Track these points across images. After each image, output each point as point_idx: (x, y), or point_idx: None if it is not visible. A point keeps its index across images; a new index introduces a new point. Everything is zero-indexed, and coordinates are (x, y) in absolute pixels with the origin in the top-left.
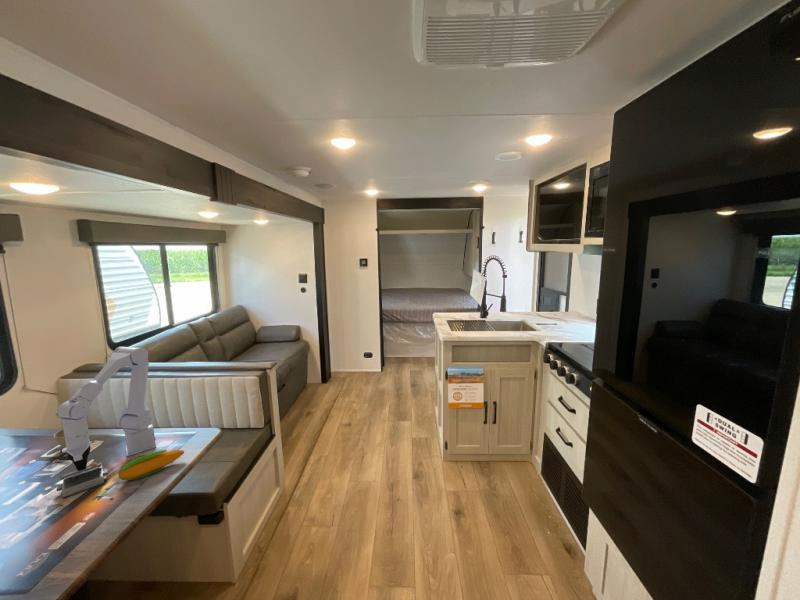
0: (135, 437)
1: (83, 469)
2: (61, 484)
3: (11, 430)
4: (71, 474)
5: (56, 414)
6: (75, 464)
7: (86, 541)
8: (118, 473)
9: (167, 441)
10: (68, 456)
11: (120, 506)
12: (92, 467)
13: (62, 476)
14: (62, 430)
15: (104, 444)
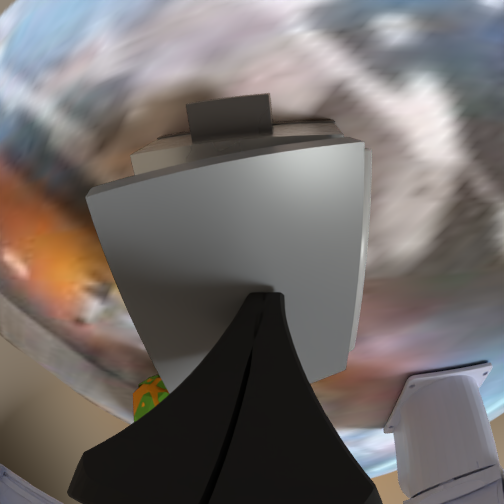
0: (414, 473)
1: (195, 344)
2: (256, 124)
3: None
4: (119, 281)
5: None
6: (203, 363)
7: None
8: (151, 397)
9: (392, 442)
10: (84, 501)
11: (42, 330)
12: (169, 390)
13: (125, 204)
14: None
15: None
